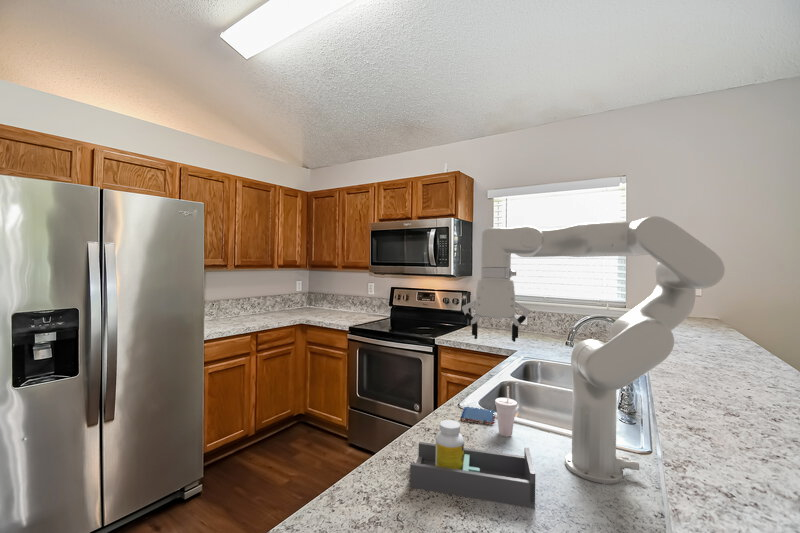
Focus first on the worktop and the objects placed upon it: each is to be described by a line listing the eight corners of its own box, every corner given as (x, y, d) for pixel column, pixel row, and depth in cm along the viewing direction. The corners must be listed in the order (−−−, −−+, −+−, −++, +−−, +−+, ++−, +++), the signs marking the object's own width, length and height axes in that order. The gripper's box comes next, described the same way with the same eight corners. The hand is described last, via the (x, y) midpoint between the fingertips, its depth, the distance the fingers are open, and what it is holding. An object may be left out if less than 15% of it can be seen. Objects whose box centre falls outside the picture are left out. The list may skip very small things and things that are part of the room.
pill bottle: (462, 485, 77) (463, 431, 78) (433, 480, 79) (434, 428, 79) (463, 469, 84) (464, 419, 84) (436, 465, 85) (437, 416, 85)
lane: (528, 478, 82) (528, 448, 82) (534, 508, 72) (535, 474, 72) (419, 461, 88) (419, 433, 88) (409, 487, 78) (410, 455, 78)
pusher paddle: (479, 468, 84) (479, 455, 84) (479, 489, 76) (479, 474, 76) (464, 466, 84) (464, 453, 84) (462, 486, 76) (462, 472, 76)
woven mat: (494, 428, 110) (494, 421, 110) (460, 423, 113) (460, 416, 113) (495, 415, 120) (495, 409, 120) (464, 411, 123) (464, 405, 123)
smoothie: (519, 439, 102) (520, 390, 102) (497, 438, 102) (498, 390, 102) (512, 429, 108) (513, 383, 108) (492, 428, 108) (492, 383, 109)
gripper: (528, 275, 95) (527, 339, 95) (463, 274, 99) (462, 335, 99) (532, 275, 88) (531, 344, 87) (461, 273, 92) (460, 339, 91)
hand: (494, 339), depth 93 cm, fingers open, 9 cm apart
